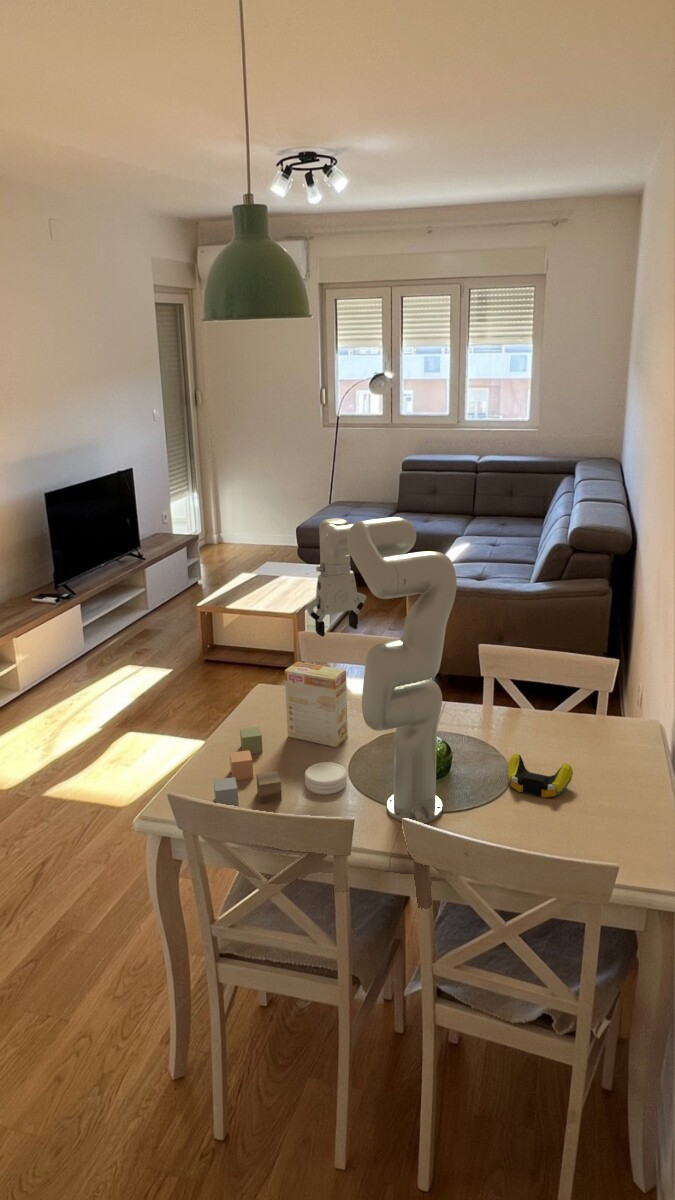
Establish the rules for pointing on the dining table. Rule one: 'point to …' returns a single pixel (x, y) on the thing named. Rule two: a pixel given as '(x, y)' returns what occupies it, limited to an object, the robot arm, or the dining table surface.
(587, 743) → the dining table surface
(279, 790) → the walnut block
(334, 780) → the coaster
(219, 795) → the slate-grey block
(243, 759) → the terracotta block
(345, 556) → the robot arm
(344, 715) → the coffeecake box
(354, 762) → the dining table surface
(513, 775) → the gaming controller
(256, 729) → the green cube
